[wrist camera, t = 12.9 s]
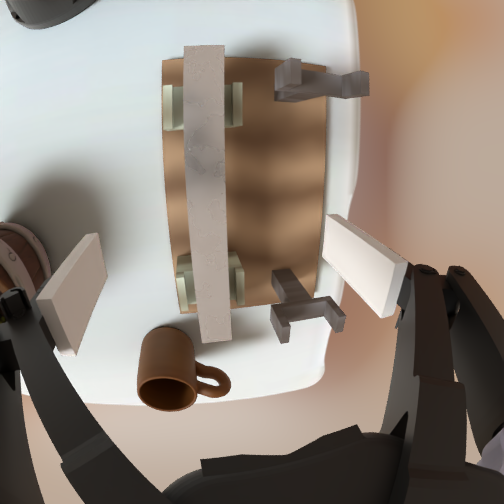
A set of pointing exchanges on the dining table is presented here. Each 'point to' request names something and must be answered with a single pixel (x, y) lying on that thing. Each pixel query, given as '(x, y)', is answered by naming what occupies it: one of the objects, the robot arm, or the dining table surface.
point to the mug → (174, 372)
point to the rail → (207, 187)
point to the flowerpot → (21, 261)
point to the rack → (262, 183)
